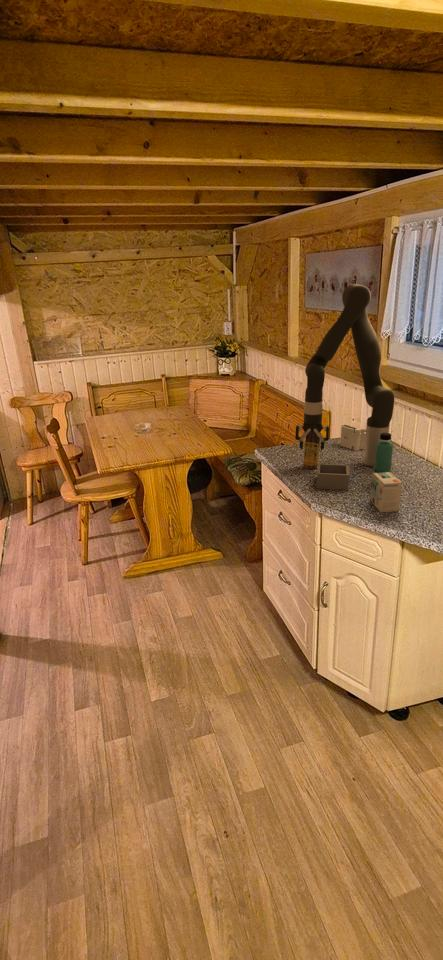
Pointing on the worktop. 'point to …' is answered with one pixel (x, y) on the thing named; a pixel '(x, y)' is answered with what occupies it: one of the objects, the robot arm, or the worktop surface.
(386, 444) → the beverage bottle
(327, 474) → the bottle holder
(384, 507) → the light bulb box
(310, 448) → the sauce bottle
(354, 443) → the hinge
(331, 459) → the worktop surface
